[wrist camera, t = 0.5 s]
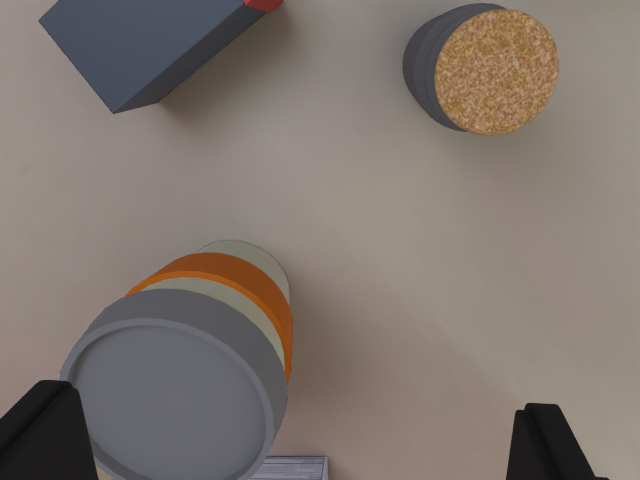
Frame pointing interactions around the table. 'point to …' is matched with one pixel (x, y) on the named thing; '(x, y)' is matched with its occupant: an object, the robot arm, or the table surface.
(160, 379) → the reusable coffee cup
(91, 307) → the table surface
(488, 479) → the table surface
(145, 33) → the red-lidded grey box
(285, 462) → the medicine box
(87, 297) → the table surface
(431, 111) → the bottle
